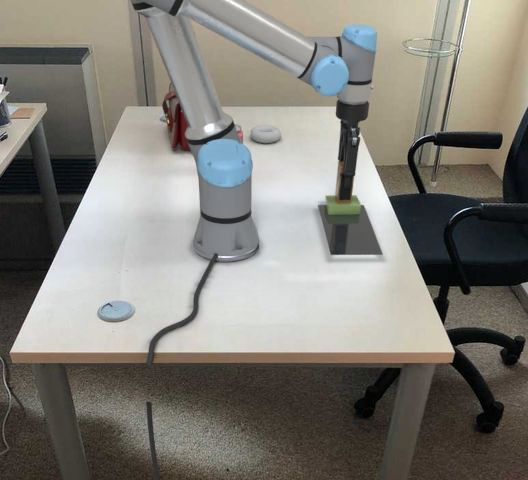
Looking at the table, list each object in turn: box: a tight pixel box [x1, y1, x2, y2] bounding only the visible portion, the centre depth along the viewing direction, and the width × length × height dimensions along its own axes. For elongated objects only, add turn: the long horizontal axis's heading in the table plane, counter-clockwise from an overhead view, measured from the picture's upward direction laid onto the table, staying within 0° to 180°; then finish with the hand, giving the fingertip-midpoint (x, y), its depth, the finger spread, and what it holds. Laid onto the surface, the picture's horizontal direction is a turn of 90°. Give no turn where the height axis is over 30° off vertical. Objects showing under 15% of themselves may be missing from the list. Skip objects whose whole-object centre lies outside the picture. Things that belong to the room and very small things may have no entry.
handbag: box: [161, 82, 191, 151], centre depth 202 cm, size 28×11×17 cm, turn 11°
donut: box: [249, 124, 282, 144], centre depth 208 cm, size 10×4×10 cm
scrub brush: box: [324, 161, 362, 215], centre depth 162 cm, size 6×8×12 cm
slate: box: [317, 204, 384, 256], centre depth 158 cm, size 26×12×2 cm, turn 3°
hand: (343, 195), depth 163 cm, fingers closed on scrub brush, 4 cm apart
